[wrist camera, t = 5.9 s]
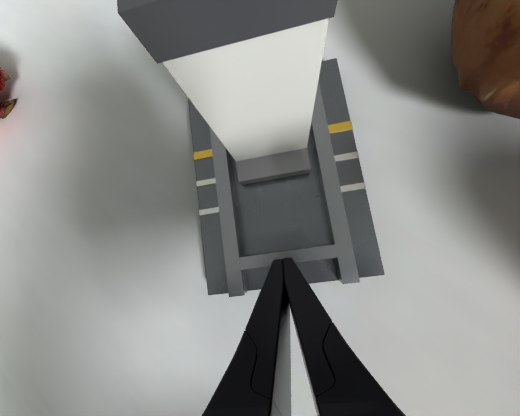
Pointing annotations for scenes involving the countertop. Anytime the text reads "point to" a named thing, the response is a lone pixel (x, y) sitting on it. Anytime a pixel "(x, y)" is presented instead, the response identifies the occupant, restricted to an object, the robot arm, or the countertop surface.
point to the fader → (243, 71)
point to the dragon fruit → (4, 109)
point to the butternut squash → (488, 52)
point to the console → (287, 205)
